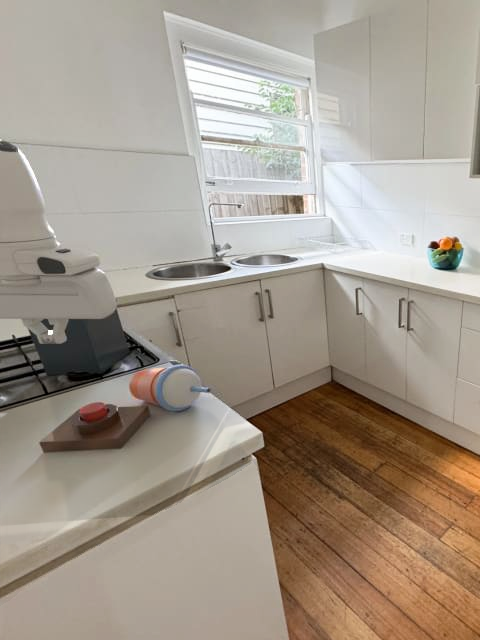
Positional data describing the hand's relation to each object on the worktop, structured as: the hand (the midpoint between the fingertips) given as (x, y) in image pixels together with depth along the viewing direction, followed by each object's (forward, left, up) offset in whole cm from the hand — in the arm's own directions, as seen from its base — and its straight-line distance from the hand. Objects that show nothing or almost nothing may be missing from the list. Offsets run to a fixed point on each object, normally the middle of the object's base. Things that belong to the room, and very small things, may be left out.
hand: (54, 342), depth 62 cm
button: (+3, -1, -14) cm, 14 cm away
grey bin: (-16, +28, -18) cm, 37 cm away
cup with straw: (+5, +11, -15) cm, 19 cm away
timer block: (+3, -1, -18) cm, 18 cm away
